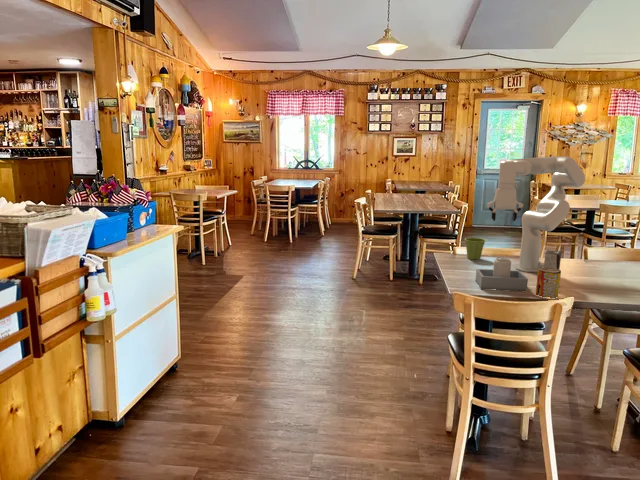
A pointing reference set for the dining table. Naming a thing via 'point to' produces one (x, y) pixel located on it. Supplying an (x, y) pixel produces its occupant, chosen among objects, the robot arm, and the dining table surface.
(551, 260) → the coffee box
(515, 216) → the robot arm
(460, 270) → the dining table surface
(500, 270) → the can
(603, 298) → the dining table surface
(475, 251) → the plant pot
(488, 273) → the bin
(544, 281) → the beverage can
